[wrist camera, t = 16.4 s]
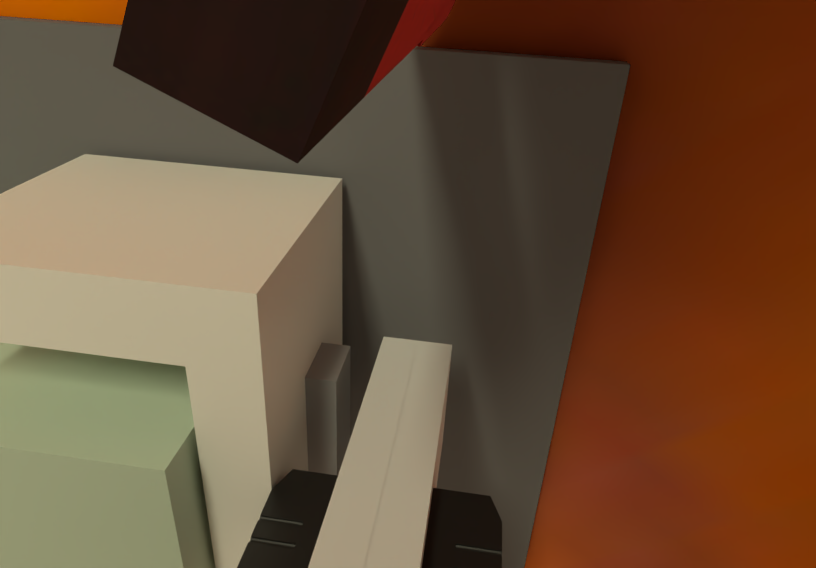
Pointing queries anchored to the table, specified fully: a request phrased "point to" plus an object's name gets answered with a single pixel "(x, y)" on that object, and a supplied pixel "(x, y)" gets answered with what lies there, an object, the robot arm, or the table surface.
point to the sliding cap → (196, 306)
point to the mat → (394, 215)
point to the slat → (98, 463)
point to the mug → (273, 58)
